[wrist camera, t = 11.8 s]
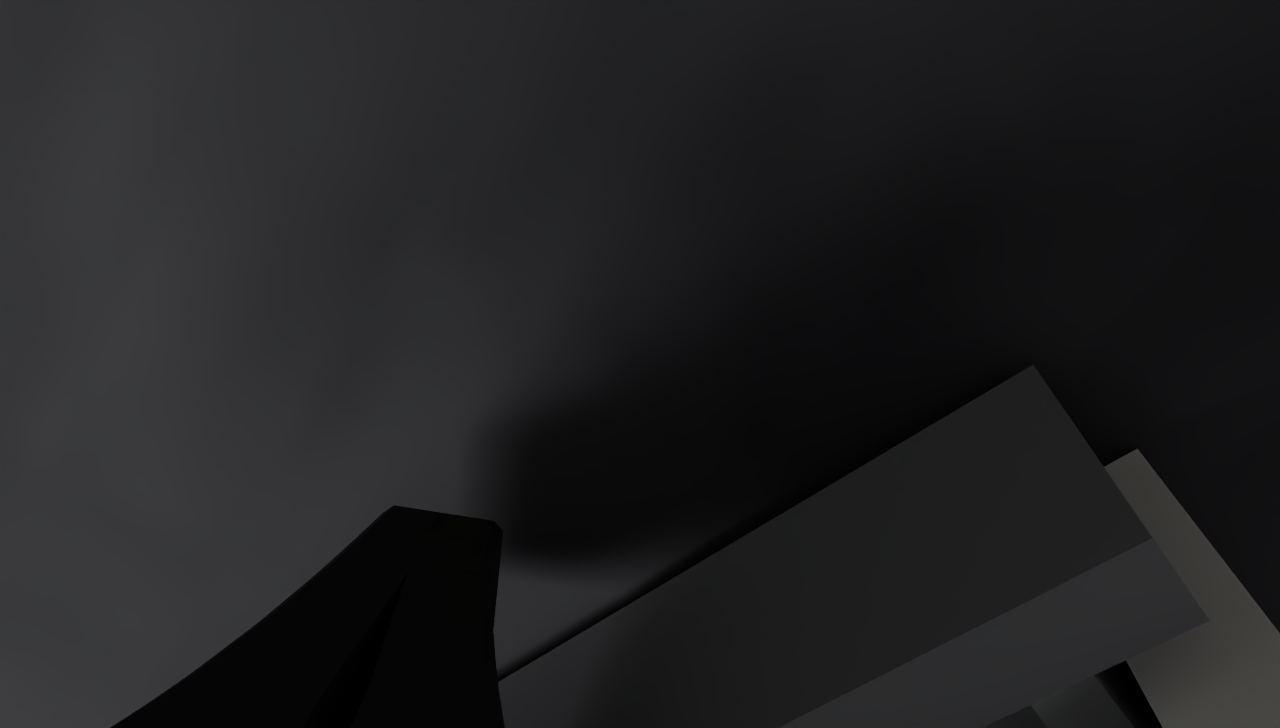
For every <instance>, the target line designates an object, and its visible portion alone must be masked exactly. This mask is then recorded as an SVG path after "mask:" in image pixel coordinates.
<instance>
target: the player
mask: <svg viewBox="0 0 1280 728" xmlns="http://www.w3.org/2000/svg"><path fill="white" fill-rule="evenodd" d="M1104 468H1105V469H1106V471H1107V472H1108V474H1109V475H1110V477H1111V478H1112V479H1113V481H1114V482H1115V484H1116V485H1117V487H1118V488H1119V490H1120V491H1121V493H1122V494H1123V495H1124V497H1125V498H1126V500H1127V501H1128V503H1129V504H1130V506H1131V507H1132V509H1133V510H1134V511H1135V513H1136V514H1137V516H1138V517H1139V519H1140V520H1141V522H1142V523H1143V524H1144V526H1145V527H1146V529H1147V530H1148V532H1149V533H1150V535H1151V536H1152V538H1153V539H1154V540H1155V542H1156V543H1157V545H1158V546H1159V548H1160V549H1161V551H1162V552H1163V554H1164V555H1165V556H1166V558H1167V559H1168V561H1169V562H1170V564H1171V565H1172V567H1173V568H1174V569H1175V571H1176V572H1177V574H1178V575H1179V577H1180V578H1181V580H1182V581H1183V583H1184V584H1185V585H1186V587H1187V588H1188V590H1189V591H1190V593H1191V594H1192V596H1193V597H1194V599H1195V600H1196V601H1197V603H1198V604H1199V606H1200V607H1201V609H1202V610H1203V612H1204V613H1205V615H1206V616H1207V617H1208V619H1209V620H1210V621H1208V622H1206V623H1204V624H1202V625H1200V626H1198V627H1196V628H1193V629H1191V630H1189V631H1187V632H1185V633H1183V634H1181V635H1179V636H1176V637H1174V638H1172V639H1170V640H1168V641H1166V642H1164V643H1162V644H1159V645H1157V646H1155V647H1153V648H1151V649H1149V650H1147V651H1144V652H1142V653H1140V654H1138V655H1136V656H1134V657H1132V658H1130V659H1127V660H1126V661H1127V663H1128V665H1129V667H1130V669H1131V671H1132V672H1133V674H1134V676H1135V678H1136V680H1137V682H1138V683H1139V685H1140V687H1141V689H1142V691H1143V693H1144V694H1145V696H1146V698H1147V700H1148V702H1149V704H1150V705H1151V707H1152V709H1153V711H1154V713H1155V715H1156V716H1157V718H1158V720H1159V722H1160V724H1161V726H1162V728H1280V633H1279V632H1278V630H1277V629H1276V628H1275V626H1274V625H1273V624H1272V622H1271V621H1270V620H1269V619H1268V617H1267V616H1266V615H1265V613H1264V612H1263V611H1262V609H1261V608H1260V607H1259V606H1258V604H1257V603H1256V602H1255V600H1254V599H1253V598H1252V597H1251V595H1250V594H1249V593H1248V591H1247V590H1246V589H1245V587H1244V586H1243V585H1242V584H1241V582H1240V581H1239V580H1238V578H1237V577H1236V576H1235V574H1234V573H1233V572H1232V571H1231V569H1230V568H1229V567H1228V565H1227V564H1226V563H1225V562H1224V560H1223V559H1222V558H1221V556H1220V555H1219V554H1218V552H1217V551H1216V550H1215V549H1214V547H1213V546H1212V545H1211V543H1210V542H1209V541H1208V539H1207V538H1206V537H1205V536H1204V534H1203V533H1202V532H1201V530H1200V529H1199V528H1198V526H1197V525H1196V524H1195V523H1194V521H1193V520H1192V519H1191V517H1190V516H1189V515H1188V514H1187V512H1186V511H1185V510H1184V508H1183V507H1182V506H1181V504H1180V503H1179V502H1178V501H1177V499H1176V498H1175V497H1174V495H1173V494H1172V493H1171V491H1170V490H1169V489H1168V488H1167V486H1166V485H1165V484H1164V482H1163V481H1162V480H1161V479H1160V477H1159V476H1158V475H1157V473H1156V472H1155V471H1154V469H1153V468H1152V467H1151V466H1150V464H1149V463H1148V462H1147V460H1146V459H1145V458H1144V456H1143V455H1142V454H1141V453H1140V451H1139V450H1138V449H1136V450H1134V451H1132V452H1130V453H1129V454H1127V455H1125V456H1123V457H1121V458H1119V459H1117V460H1116V461H1114V462H1112V463H1110V464H1108V465H1106V466H1105V467H1104Z"/></svg>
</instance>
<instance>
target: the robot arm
mask: <svg viewBox="0 0 1280 728" xmlns="http://www.w3.org/2000/svg"><path fill="white" fill-rule="evenodd" d="M502 536H503V531H502V530H501V528H500V527H499V526H498V525H497V524H496V523H495V521H491V520H484V519H478V518H471V517H465V516H459V515H452V514H446V513H439V512H433V511H426V510H420V509H414V508H407V507H401V506H392V507H391V508H389V509H388V510H386V511H385V512H383V513H382V514H381V515H380V516H379V517H378V518H377V519H376V520H375V521H374V522H373V523H372V524H371V525H370V526H369V527H368V528H366V529H365V530H364V531H363V532H362V533H361V534H360V535H359V536H358V537H357V538H356V539H355V540H354V541H352V542H351V543H350V544H349V545H348V546H347V547H346V548H345V549H344V550H343V551H342V552H340V553H339V554H338V555H337V556H336V557H335V558H334V559H333V560H332V561H330V562H329V563H328V564H327V565H326V566H325V567H324V568H323V569H321V570H320V571H319V572H318V573H317V574H316V575H315V576H313V577H312V578H311V579H310V580H309V581H308V582H306V583H305V584H304V585H303V586H302V587H300V588H299V589H298V590H297V591H296V592H294V593H293V594H292V595H291V596H290V597H289V598H287V599H286V600H285V601H284V602H283V603H281V604H280V605H279V606H278V607H277V608H275V609H274V610H273V611H272V612H271V613H269V614H268V615H267V616H266V617H265V618H263V619H262V620H261V621H260V622H258V623H257V624H256V625H255V626H253V627H252V628H251V629H249V630H248V631H247V632H245V633H244V634H243V635H241V636H240V637H239V638H238V639H236V640H235V641H234V642H232V643H231V644H230V645H228V646H227V647H226V648H224V649H223V650H222V651H220V652H219V653H218V654H216V655H215V656H214V657H212V658H211V659H210V660H208V661H207V662H206V663H204V664H203V665H202V666H200V667H199V668H198V669H196V670H195V671H194V672H192V673H191V674H190V675H188V676H187V677H185V678H184V679H183V680H181V681H180V682H178V683H177V684H175V685H174V686H172V687H171V688H170V689H168V690H167V691H165V692H164V693H162V694H161V695H159V696H158V697H156V698H155V699H154V700H152V701H151V702H149V703H148V704H146V705H145V706H143V707H142V708H140V709H139V710H137V711H135V712H134V713H132V714H131V715H129V716H128V717H126V718H124V719H123V720H121V721H120V722H118V723H117V724H115V725H114V726H112V727H110V728H505V725H504V719H503V713H502V706H501V700H500V694H499V686H498V678H497V670H496V660H495V647H494V634H493V627H494V617H495V607H496V597H497V587H498V577H499V566H500V556H501V546H502Z"/></svg>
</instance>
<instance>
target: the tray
mask: <svg viewBox="0 0 1280 728" xmlns="http://www.w3.org/2000/svg"><path fill="white" fill-rule="evenodd" d="M1208 621H1210V620H1209V619H1208V617H1207V616H1206V615H1205V613H1204V612H1203V610H1202V609H1201V607H1200V606H1199V604H1198V603H1197V601H1196V600H1195V599H1194V597H1193V596H1192V594H1191V593H1190V591H1189V590H1188V588H1187V587H1186V585H1185V584H1184V583H1183V581H1182V580H1181V578H1180V577H1179V575H1178V574H1177V572H1176V571H1175V569H1174V568H1173V567H1172V565H1171V564H1170V562H1169V561H1168V559H1167V558H1166V556H1165V555H1164V554H1163V552H1162V551H1161V549H1160V548H1159V546H1158V545H1157V543H1156V542H1155V540H1154V539H1153V538H1152V536H1151V535H1150V533H1149V532H1148V530H1147V529H1146V527H1145V526H1144V524H1143V523H1142V522H1141V520H1140V519H1139V517H1138V516H1137V514H1136V513H1135V511H1134V510H1133V509H1132V507H1131V506H1130V504H1129V503H1128V501H1127V500H1126V498H1125V497H1124V495H1123V494H1122V493H1121V491H1120V490H1119V488H1118V487H1117V485H1116V484H1115V482H1114V481H1113V479H1112V478H1111V477H1110V475H1109V474H1108V472H1107V471H1106V469H1105V468H1104V466H1103V465H1102V463H1101V462H1100V461H1099V459H1098V458H1097V456H1096V455H1095V453H1094V452H1093V450H1092V449H1091V448H1090V446H1089V445H1088V443H1087V442H1086V440H1085V439H1084V437H1083V436H1082V434H1081V433H1080V432H1079V430H1078V429H1077V427H1076V426H1075V424H1074V423H1073V421H1072V420H1071V419H1070V417H1069V416H1068V414H1067V413H1066V411H1065V410H1064V409H1063V407H1062V406H1061V404H1060V403H1059V401H1058V400H1057V398H1056V397H1055V396H1054V394H1053V393H1052V391H1051V390H1050V388H1049V387H1048V385H1047V384H1046V383H1045V381H1044V380H1043V378H1042V377H1041V375H1040V374H1039V373H1038V371H1037V370H1036V368H1035V367H1034V365H1031V366H1030V367H1028V368H1026V369H1025V370H1023V371H1021V372H1020V373H1018V374H1016V375H1015V376H1013V377H1011V378H1010V379H1008V380H1006V381H1004V382H1003V383H1001V384H999V385H998V386H996V387H994V388H993V389H991V390H989V391H988V392H986V393H984V394H983V395H981V396H979V397H978V398H976V399H974V400H972V401H971V402H969V403H967V404H966V405H964V406H962V407H961V408H959V409H957V410H956V411H954V412H952V413H951V414H949V415H947V416H946V417H944V418H942V419H940V420H939V421H937V422H935V423H934V424H932V425H930V426H929V427H927V428H925V429H924V430H922V431H920V432H919V433H917V434H915V435H914V436H912V437H910V438H908V439H907V440H905V441H903V442H902V443H900V444H898V445H897V446H895V447H893V448H892V449H890V450H888V451H887V452H885V453H883V454H882V455H880V456H878V457H876V458H875V459H873V460H871V461H870V462H868V463H866V464H865V465H863V466H861V467H860V468H858V469H856V470H855V471H853V472H851V473H849V474H848V475H846V476H844V477H843V478H841V479H839V480H838V481H836V482H834V483H833V484H831V485H829V486H828V487H826V488H824V489H823V490H821V491H819V492H817V493H816V494H814V495H812V496H811V497H809V498H807V499H806V500H804V501H802V502H801V503H799V504H797V505H796V506H794V507H792V508H791V509H789V510H787V511H785V512H784V513H782V514H780V515H779V516H777V517H775V518H774V519H772V520H770V521H769V522H767V523H765V524H764V525H762V526H760V527H759V528H757V529H755V530H753V531H752V532H750V533H748V534H747V535H745V536H743V537H742V538H740V539H738V540H737V541H735V542H733V543H732V544H730V545H728V546H727V547H725V548H723V549H721V550H720V551H718V552H716V553H715V554H713V555H711V556H710V557H708V558H706V559H705V560H703V561H701V562H700V563H698V564H696V565H695V566H693V567H691V568H689V569H688V570H686V571H684V572H683V573H681V574H679V575H678V576H676V577H674V578H673V579H671V580H669V581H668V582H666V583H664V584H663V585H661V586H659V587H657V588H656V589H654V590H652V591H651V592H649V593H647V594H646V595H644V596H642V597H641V598H639V599H637V600H636V601H634V602H632V603H631V604H629V605H627V606H625V607H624V608H622V609H620V610H619V611H617V612H615V613H614V614H612V615H610V616H609V617H607V618H605V619H604V620H602V621H600V622H599V623H597V624H595V625H593V626H592V627H590V628H588V629H587V630H585V631H583V632H582V633H580V634H578V635H577V636H575V637H573V638H572V639H570V640H568V641H567V642H565V643H563V644H561V645H560V646H558V647H556V648H555V649H553V650H551V651H550V652H548V653H546V654H545V655H543V656H541V657H540V658H538V659H536V660H534V661H533V662H531V663H529V664H528V665H526V666H524V667H523V668H521V669H519V670H518V671H516V672H514V673H513V674H511V675H509V676H508V677H506V678H504V679H502V680H501V681H499V682H498V686H499V694H500V700H501V706H502V713H503V719H504V725H505V728H1162V726H1161V725H1160V724H1159V722H1158V721H1157V720H1156V718H1155V717H1154V716H1153V715H1152V713H1151V712H1150V711H1149V709H1148V708H1147V707H1146V705H1145V704H1144V703H1143V701H1142V700H1141V699H1140V697H1139V696H1138V695H1137V694H1136V692H1135V691H1134V690H1133V688H1132V687H1131V686H1130V684H1129V683H1128V682H1127V680H1126V679H1125V678H1124V676H1123V675H1122V674H1121V672H1120V671H1119V670H1118V669H1117V667H1116V666H1115V665H1117V664H1119V663H1121V662H1123V661H1125V660H1127V659H1130V658H1132V657H1134V656H1136V655H1138V654H1140V653H1142V652H1144V651H1147V650H1149V649H1151V648H1153V647H1155V646H1157V645H1159V644H1162V643H1164V642H1166V641H1168V640H1170V639H1172V638H1174V637H1176V636H1179V635H1181V634H1183V633H1185V632H1187V631H1189V630H1191V629H1193V628H1196V627H1198V626H1200V625H1202V624H1204V623H1206V622H1208Z"/></svg>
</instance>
